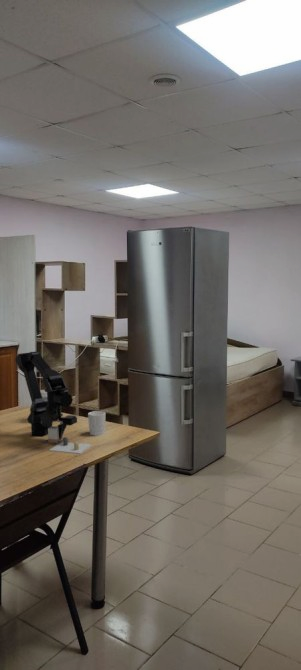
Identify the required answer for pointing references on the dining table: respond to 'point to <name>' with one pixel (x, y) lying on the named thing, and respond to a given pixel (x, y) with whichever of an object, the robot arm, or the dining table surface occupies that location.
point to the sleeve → (53, 434)
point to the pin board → (70, 447)
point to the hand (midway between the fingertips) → (55, 438)
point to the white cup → (96, 423)
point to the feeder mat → (52, 442)
